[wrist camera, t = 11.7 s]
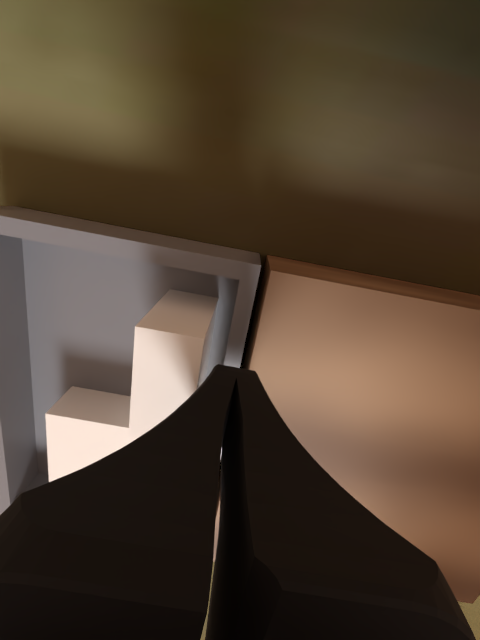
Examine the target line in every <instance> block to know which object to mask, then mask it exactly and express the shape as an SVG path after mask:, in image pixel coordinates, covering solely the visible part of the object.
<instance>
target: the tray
mask: <svg viewBox="0 0 480 640" xmlns="http://www.w3.org/2000/svg"><path fill="white" fill-rule="evenodd" d="M260 269H261V260H260V253H255V252H250V251H245V250H240V249H235V248H229V247H224V246H219V245H214V244H209V243H203V242H198V241H193V240H188V239H183V238H177V237H172V236H167V235H162V234H156V233H151V232H146V231H141V230H136V229H130V228H125V227H120V226H115V225H110V224H104V223H99V222H94V221H89V220H84V219H78V218H73V217H68V216H63V215H58V214H52V213H47V212H42V211H37V210H32V209H26V208H21V207H16V206H0V515H1V514H2V513H3V512H4V511H5V510H6V509H7V508H8V507H9V506H10V505H11V504H12V503H13V502H14V501H15V499H16V498H17V497H18V496H19V495H20V494H21V493H23V492H26V491H29V490H31V489H34V488H36V487H39V486H41V485H44V484H46V483H49V475H48V456H47V437H46V418H45V413H46V412H47V411H48V410H49V409H50V408H51V407H52V406H53V405H54V404H55V403H56V402H57V401H58V400H59V399H60V398H61V397H62V396H63V395H64V394H65V393H66V392H67V391H68V390H69V389H70V388H71V387H72V386H74V387H80V388H86V389H91V390H97V391H102V392H108V393H114V394H119V395H125V396H131V385H132V368H133V351H134V335H135V326H136V325H137V324H138V323H139V322H140V320H141V319H142V318H143V317H144V316H145V315H146V314H147V313H148V312H149V311H150V310H151V309H152V308H153V307H154V306H155V305H156V303H157V302H158V301H159V300H160V299H161V298H162V297H163V296H164V295H165V294H166V293H167V292H168V291H169V290H170V289H172V290H177V291H183V292H188V293H194V294H199V295H205V296H210V297H216V298H219V299H218V306H217V312H216V318H215V324H214V331H213V337H212V343H211V349H210V356H209V362H208V368H207V375H206V378H207V377H208V376H209V374H210V373H211V371H212V370H213V368H214V366H216V365H217V364H220V365H226V366H231V367H237V368H240V365H241V360H242V355H243V350H244V345H245V341H246V336H247V331H248V326H249V321H250V317H251V312H252V307H253V302H254V298H255V293H256V288H257V283H258V278H259V274H260ZM221 455H222V449H221ZM220 460H221V457H220Z"/></svg>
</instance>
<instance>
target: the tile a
mask: <svg viewBox="0 0 480 640" xmlns="http://www.w3.org/2000/svg"><path fill="white" fill-rule="evenodd" d="M130 402H131V396H125V395H119V394H114V393H108V392H102V391H97V390H91V389H86V388H80V387H74V386H72V387H71V388H70V389H69V390H68V391H67V392H66V393H65V394H64V395H63V396H62V397H61V398H60V399H59V400H58V401H57V402H56V403H55V404H54V405H53V406H52V407H51V408H50V409H49V410H48V411H47V412H46V413H45V418H46V437H47V456H48V475H49V482H51V481H53V480H56V479H58V478H61V477H63V476H65V475H68V474H70V473H73V472H75V471H77V470H80V469H82V468H84V467H86V466H88V465H90V464H92V463H94V462H96V461H98V460H100V459H102V458H104V457H106V456H108V455H110V454H111V453H113V452H115V451H117V450H119V449H121V448H122V447H124V446H126V445H127V444H129V443H131V442H132V441H134V440H135V439H137V438H135V437H129V436H128V435H129V419H130Z"/></svg>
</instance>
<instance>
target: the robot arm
mask: <svg viewBox="0 0 480 640" xmlns="http://www.w3.org/2000/svg"><path fill="white" fill-rule="evenodd" d="M221 449H222V460H221V489H220V517H219V531H218V541H217V549H216V557H215V565H214V574H213V582H212V590H211V598H210V606H209V614H208V622H207V629H206V637H205V640H476V639H475V637H474V634H473V632H472V630H471V628H470V626H469V624H468V622H467V620H466V618H465V616H464V614H463V612H462V610H461V608H460V606H459V604H458V602H457V600H456V598H455V596H454V594H453V592H452V590H451V588H450V586H449V584H448V582H447V581H446V579H445V577H444V575H443V573H442V572H441V570H440V568H439V566H438V565H437V563H436V561H435V560H433V559H432V558H431V557H429V556H428V555H426V554H425V553H424V552H422V551H421V550H420V549H418V548H417V547H416V546H414V545H413V544H412V543H410V542H409V541H408V540H406V539H405V538H404V537H402V536H401V535H400V534H398V533H397V532H395V531H394V530H393V529H391V528H390V527H389V526H387V525H386V524H385V523H384V522H382V521H381V520H380V519H379V518H377V517H376V516H375V515H374V514H373V513H371V512H370V511H369V510H368V509H367V508H365V507H364V506H363V505H362V504H361V503H359V502H358V501H357V500H356V499H355V498H354V497H353V496H351V495H350V494H349V493H348V492H347V491H346V490H345V489H344V488H343V487H341V486H340V485H339V484H338V483H337V482H336V481H335V480H334V479H333V478H332V477H331V476H330V475H329V474H328V473H327V472H326V471H325V470H324V469H323V468H322V467H321V466H320V465H319V464H318V463H317V462H316V460H315V459H314V458H313V457H312V456H311V455H310V454H309V453H308V451H307V450H306V449H305V448H304V447H303V446H302V444H301V443H300V442H299V441H298V440H297V438H296V437H295V436H294V435H293V433H292V432H291V431H290V429H289V428H288V426H287V425H286V423H285V422H284V421H283V419H282V417H281V416H280V414H279V413H278V411H277V409H276V408H275V406H274V405H273V403H272V401H271V400H270V398H269V396H268V394H267V392H266V390H265V389H264V387H263V385H262V383H261V381H260V378H259V376H258V374H257V373H256V371H253V370H248V369H242V368H237V367H231V366H226V365H220V364H217V365H216V366H214V368H213V370H212V371H211V373H210V374H209V376H208V377H207V378H206V379H205V381H204V382H203V383H202V384H201V385H200V386H199V387H198V389H197V390H196V391H195V392H194V393H193V394H192V395H191V396H190V397H189V398H188V399H187V400H186V401H185V402H184V403H183V404H182V405H180V406H179V407H178V408H177V409H176V410H175V411H174V412H173V413H171V414H170V415H169V416H168V417H167V418H165V419H164V420H163V421H161V422H160V423H159V424H157V425H156V426H155V427H153V428H152V429H151V430H149V431H148V432H146V433H145V434H143V435H142V436H140V437H139V438H137V439H135V440H134V441H132V442H131V443H129V444H127V445H126V446H124V447H122V448H121V449H119V450H117V451H115V452H113V453H111V454H110V455H108V456H106V457H104V458H102V459H100V460H98V461H96V462H94V463H92V464H90V465H88V466H86V467H84V468H82V469H80V470H77V471H75V472H73V473H70V474H68V475H65V476H63V477H61V478H58V479H56V480H53V481H51V482H49V483H46V484H44V485H41V486H39V487H36V488H34V489H31V490H29V491H26V492H23V493H21V494H20V495H19V496H18V497H17V498H16V499H15V501H14V502H13V503H12V504H11V505H10V506H9V507H8V508H7V509H6V510H5V511H4V512H3V513H2V514H1V515H0V640H200V638H201V634H202V630H203V626H204V622H205V618H206V614H207V608H208V601H209V592H210V583H211V574H212V566H213V556H214V537H215V521H216V506H217V492H218V480H219V468H220V457H221Z"/></svg>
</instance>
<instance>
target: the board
mask: <svg viewBox="0 0 480 640" xmlns="http://www.w3.org/2000/svg"><path fill="white" fill-rule="evenodd" d="M243 369H248V370H253V371H256V373H257V374H258V376H259V378H260V381H261V383H262V385H263V387H264V389H265V390H266V392H267V394H268V396H269V398H270V400H271V401H272V403H273V405H274V406H275V408H276V409H277V411H278V413H279V414H280V416H281V417H282V419H283V421H284V422H285V423H286V425H287V426H288V428H289V429H290V431H291V432H292V433H293V435H294V436H295V437H296V438H297V440H298V441H299V442H300V443H301V444H302V446H303V447H304V448H305V449H306V450H307V451H308V453H309V454H310V455H311V456H312V457H313V458H314V459H315V460H316V462H317V463H318V464H319V465H320V466H321V467H322V468H323V469H324V470H325V471H326V472H327V473H328V474H329V475H330V476H331V477H332V478H333V479H334V480H335V481H336V482H337V483H338V484H339V485H340V486H341V487H343V488H344V489H345V490H346V491H347V492H348V493H349V494H350V495H351V496H353V497H354V498H355V499H356V500H357V501H358V502H359V503H361V504H362V505H363V506H364V507H365V508H367V509H368V510H369V511H370V512H371V513H373V514H374V515H375V516H376V517H377V518H379V519H380V520H381V521H382V522H384V523H385V524H386V525H387V526H389V527H390V528H391V529H393V530H394V531H395V532H397V533H398V534H400V535H401V536H402V537H404V538H405V539H406V540H408V541H409V542H410V543H412V544H413V545H414V546H416V547H417V548H418V549H420V550H421V551H422V552H424V553H425V554H426V555H428V556H429V557H431V558H432V559H433V560H435V561H436V563H437V565H438V566H439V568H440V570H441V572H442V573H443V575H444V577H445V579H446V581H447V582H448V584H449V586H450V588H451V590H452V592H453V594H454V596H455V598H456V600H457V601H460V602H466V603H472V604H473V603H474V601H475V600H476V599H477V597H478V596H479V595H480V296H479V295H474V294H469V293H463V292H458V291H453V290H448V289H443V288H437V287H432V286H427V285H422V284H417V283H411V282H406V281H401V280H396V279H391V278H385V277H380V276H375V275H370V274H365V273H359V272H354V271H349V270H344V269H339V268H333V267H328V266H323V265H318V264H313V263H307V262H302V261H297V260H292V259H287V258H281V257H276V256H271V255H267V258H266V262H265V267H264V272H263V276H262V281H261V286H260V290H259V295H258V300H257V304H256V309H255V314H254V319H253V323H252V328H251V333H250V337H249V342H248V347H247V351H246V356H245V361H244V365H243ZM220 489H221V473H220V478H219V483H218V492H217V506H216V521H215V537H214V556H213V561H215V557H216V549H217V541H218V531H219V517H220Z"/></svg>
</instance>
